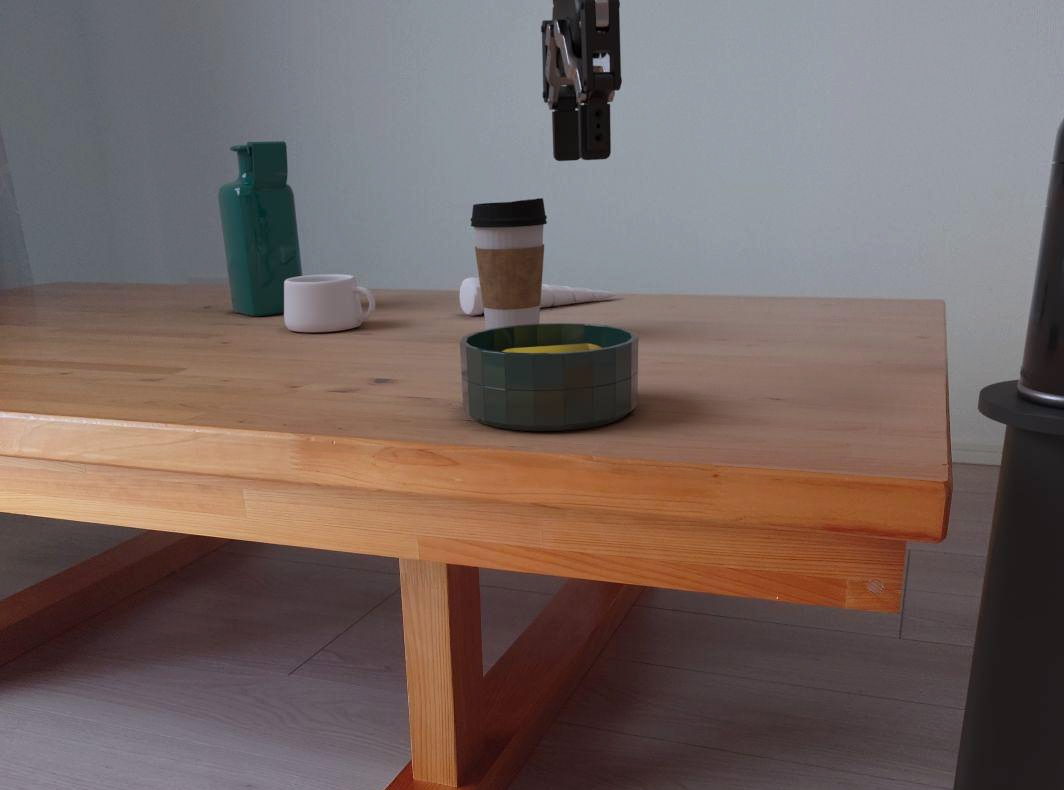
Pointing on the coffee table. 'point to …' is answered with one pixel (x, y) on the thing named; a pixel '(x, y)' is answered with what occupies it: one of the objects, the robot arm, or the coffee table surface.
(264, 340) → the coffee table surface
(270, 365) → the coffee table surface
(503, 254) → the coffee cup
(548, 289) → the unicorn horn
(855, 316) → the coffee table surface
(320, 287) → the mug
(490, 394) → the teal round dish
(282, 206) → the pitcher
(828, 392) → the coffee table surface
